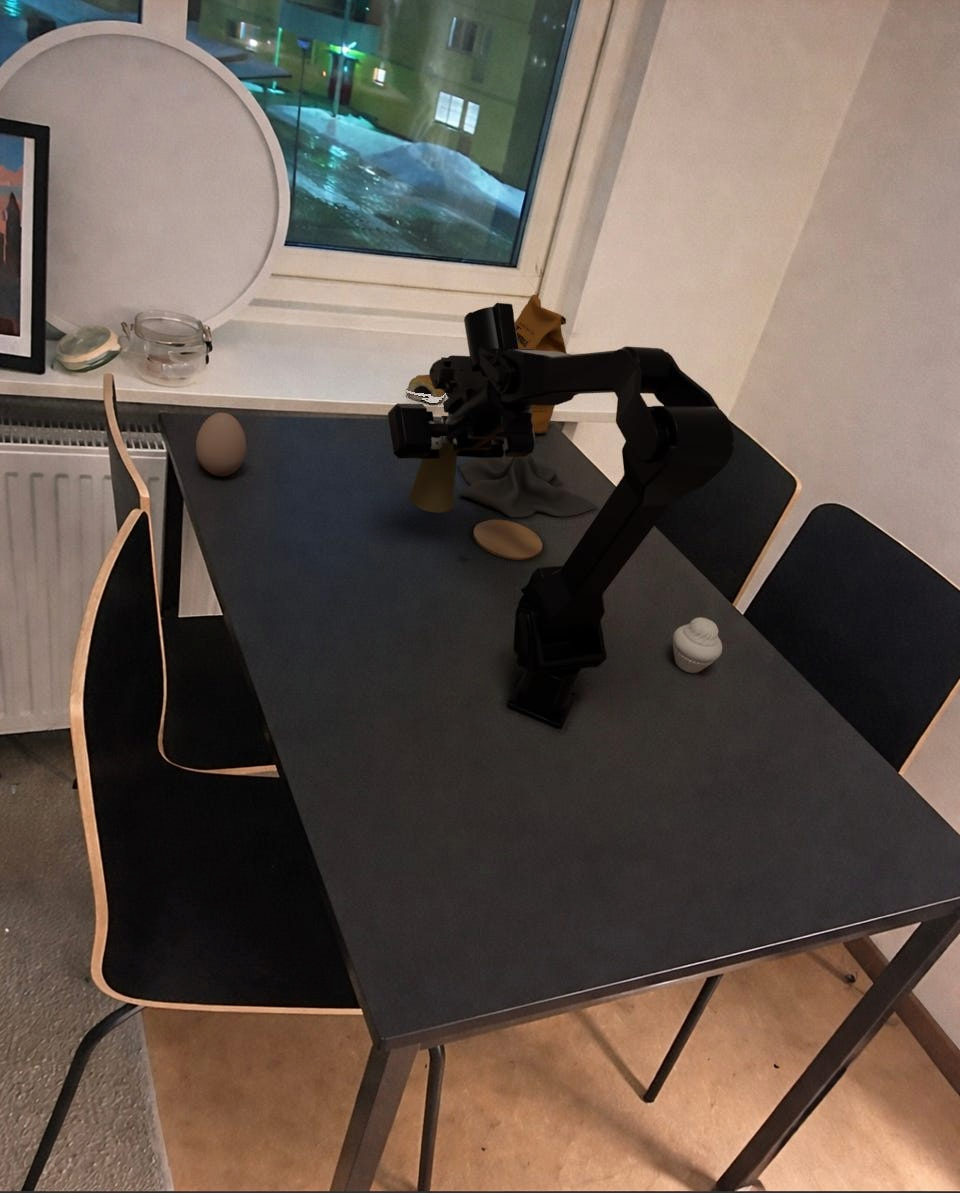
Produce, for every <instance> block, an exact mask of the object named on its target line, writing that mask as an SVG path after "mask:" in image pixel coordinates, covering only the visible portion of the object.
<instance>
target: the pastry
mask: <svg viewBox="0 0 960 1193" xmlns="http://www.w3.org/2000/svg"><path fill="white" fill-rule="evenodd" d="M406 390H408V391H411V392H415V393H424V394H431V396H433V397H441V396H443V395H444V394H445V392H444V391H443V390H442V389H435V388H434V387H433V384H432V381H431V379H430V376H429V374H418V375H416V376H415V377H413V378H411V379H410V380H409V383H408V386H407V388H406V389H405V393H406V395H407V397H408V398H409V399H410V400H414V401H419V402H422V401H421V400H422V398H429V397H428V396H425V397H423V396H418V395H414V394H410V393H407V392H406ZM445 397H446V395H445V396H444V398H445ZM426 400H428V399H426ZM424 401H425V400H424ZM424 401H423V402H424ZM443 401H444V399H442V400H439V403H442V402H443ZM439 403H438V404H439Z"/></svg>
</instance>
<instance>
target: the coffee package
mask: <svg viewBox="0 0 960 1193" xmlns="http://www.w3.org/2000/svg"><path fill="white" fill-rule="evenodd" d="M514 321H515V327H516V333H517V339H518V345H519V349H533V350H537V351H557V352H562V353H567V347H566V344H565V340H564V337H563V333H562V332H563V331H562V326H563V325H566V324H567V318H566V317H565V316H564V315H562V314H559V313H558V312H555V311H552V310H550V309H548V308H545V307H542V302H541V299H540V298H539V296H538V294H532V295H531V296H530V297H529V300H528V301H527V303H526V304H525V305H524V307H523V309H522V310H521V312H520V314H519V315H518V317H517V319H516V320H514ZM555 406H556V405H532V409H531V413H532V422H533V428H534V434H542V433H547V432H548V430H549V427H550V426H549V425H550V422H551V419H552V417H553V412H554V409H555Z"/></svg>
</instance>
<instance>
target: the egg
mask: <svg viewBox="0 0 960 1193" xmlns="http://www.w3.org/2000/svg"><path fill="white" fill-rule="evenodd" d="M195 441H196V443H195V451H196V456H197V459H198V461H199V463H200V464H201V466H202V467H203V468H204V470H206V471H207V472H208V473H209V474H211V475H213V476H216V477H227V476H229V475H232V474H233V473H235V472H236V471H237V470H238V469H239V468H240V467H241V466H242V464H243V462H244V461H245V459H246V454H247V440H246V435H245V432H244V430H243V427H242V426H241V424H240V422H239V421H238V420H237V419H236V417H234V416H232V415H231V414H229V413H227V412H216V413H214V414H212V415H210V416H209V417H207V419H206V420H205V421H204V422H203V423H202V425H201V426H200V428H199V430H198V433H197V437H196V440H195Z"/></svg>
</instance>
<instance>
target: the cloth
mask: <svg viewBox="0 0 960 1193" xmlns="http://www.w3.org/2000/svg"><path fill="white" fill-rule="evenodd" d="M459 470H460V472H461V474H462V477H463V479H465V481H466V482H467V484H469V487H467V488H465V489H463V490H462V491H460V495H461V497H462V498H465V499H469V500H472V501H474V502H477V503H479V504H481V505H484V506H487V507H488V508H491V509H494V510H496V511H498V512H500V513H502V514H504V515H505V516H507V517H509V518H514V519H515V518H516V519H517V518H519V519H520V518H528V517H531V516H532V515H534V514H535V513H542V514H545V515H549V516H553V517H557V518H558V517H560V518H564V517H565V518H566V517H568V518H569V517H575V516H579V515H582V514H585V513H588V512H590V511H593V510H596V506H595V505H593V504H592V503H590V502H588V501H587V500H585V499H583V498H582V497H580V496H577V495H575V494H573V493H571V492H570V491H568V490H566V489H565V488H563V487H561V486H559V485H560V484H561V482H560V481H559V477H558V473H557V472H556V470H554V469H553V468H552V467H550V466H548V465H545V464H543V463H541V462H538V461H537V462H536V461H535V459H534V457H533V456H532V453H530V454H529V455H527V456H525V457H511V459H510V460H509V462H508V461H505V460H504V459H502V457H501V458H478V457H472V458H471V459H469V460H468V461H467V462H466V463H464V464H462V465H460V466H459Z"/></svg>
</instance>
